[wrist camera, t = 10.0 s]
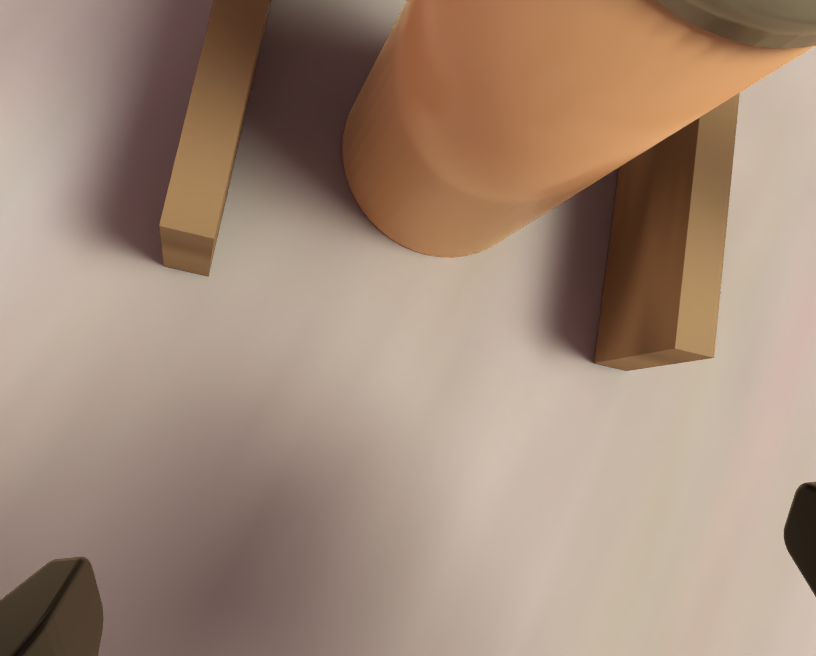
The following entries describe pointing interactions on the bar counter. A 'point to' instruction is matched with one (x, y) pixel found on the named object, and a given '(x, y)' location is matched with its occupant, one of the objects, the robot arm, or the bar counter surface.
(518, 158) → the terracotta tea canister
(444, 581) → the bar counter surface
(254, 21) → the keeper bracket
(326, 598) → the bar counter surface
